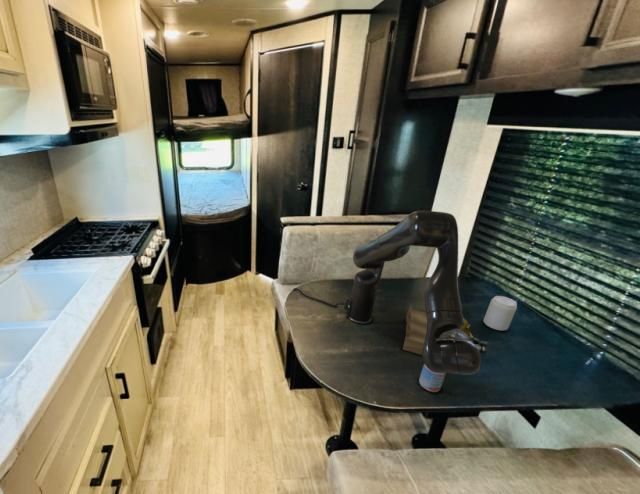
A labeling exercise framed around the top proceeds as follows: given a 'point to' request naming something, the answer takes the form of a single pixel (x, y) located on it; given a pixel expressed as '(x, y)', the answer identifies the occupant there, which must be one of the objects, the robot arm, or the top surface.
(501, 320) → the white cylinder
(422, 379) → the pill bottle
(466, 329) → the yellow flared lump
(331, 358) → the top surface
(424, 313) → the striped tan crate
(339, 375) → the top surface
